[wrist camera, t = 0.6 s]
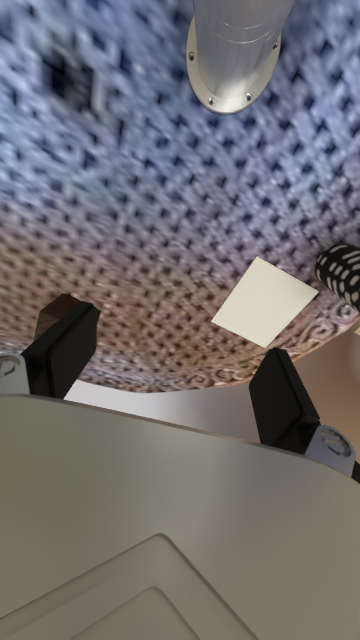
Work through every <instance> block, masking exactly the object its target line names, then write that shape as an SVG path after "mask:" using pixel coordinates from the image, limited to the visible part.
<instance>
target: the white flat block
mask: <svg viewBox="0 0 360 640" xmlns="http://www.w3.org/2000/svg"><path fill="white" fill-rule="evenodd" d="M318 292H319V291H317V290H316V289H314V288H312V287H310V286H309V285H307V284H305V283H303V282H302V281H300V280H298V279H296V278H295V277H293V276H291V275H289V274H288V273H286V272H284V271H282V270H281V269H279V268H277V267H275V266H274V265H272V264H270V263H268V262H266V261H265V260H263V259H261V258H259V257H258V256H256V257H255V259H254V260H253V262H252V263H251V264H250V266H249V267H248V269H247V270H246V272H245V273H244V274H243V276H242V277H241V279H240V280H239V282H238V283H237V284H236V286H235V287H234V289H233V290H232V291H231V293H230V294H229V296H228V297H227V299H226V300H225V301H224V303H223V304H222V306H221V307H220V309H219V310H218V311H217V313H216V314H215V316H214V317H213V318H212V320H211V322H213V323H215V324H217V325H219V326H221V327H223V328H225V329H228V330H230V331H232V332H234V333H236V334H238V335H240V336H242V337H244V338H246V339H248V340H250V341H252V342H254V343H256V344H258V345H260V346H262V347H264V348H265V347H266V346H267V345H268V344H269V343H270V342H271V341H272V340H273V339H274V338H275V337H276V336H277V335H278V334H279V333H280V332H281V331H282V330H283V329H284V328H285V327H286V326H287V324H288V323H289V322H290V321H291V320H292V319H293V318H294V317H295V316H296V315H297V314H298V313H299V312H300V311H301V310H302V309H303V308H304V307H305V306H306V305H307V304H308V303H309V302H310V301H311V300H312V298H313V297H314V296H315V295H316V294H317V293H318Z"/></svg>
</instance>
